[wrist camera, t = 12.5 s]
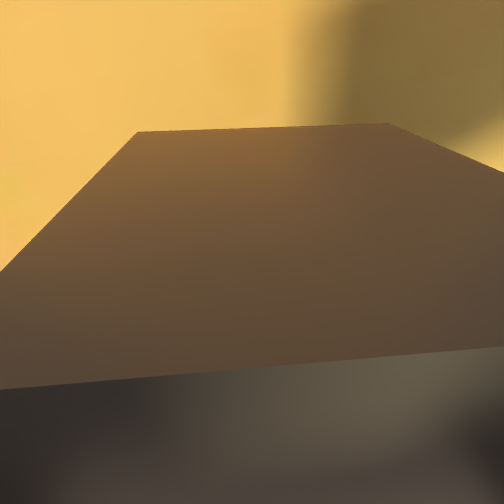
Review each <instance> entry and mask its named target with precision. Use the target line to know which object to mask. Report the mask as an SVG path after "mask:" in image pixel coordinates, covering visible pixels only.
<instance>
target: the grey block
mask: <svg viewBox="0 0 504 504" xmlns="http://www.w3.org/2000/svg"><path fill="white" fill-rule="evenodd" d="M0 504H504V173H503V172H501V171H499V170H496V169H494V168H492V167H489V166H487V165H485V164H482V163H480V162H477V161H475V160H473V159H470V158H468V157H466V156H463V155H461V154H459V153H456V152H454V151H452V150H449V149H447V148H444V147H442V146H440V145H437V144H435V143H433V142H430V141H428V140H426V139H423V138H421V137H419V136H416V135H414V134H411V133H409V132H407V131H404V130H402V129H400V128H397V127H395V126H393V125H390V124H388V123H387V124H358V125H328V126H299V127H269V128H240V129H210V130H180V131H151V132H137V133H136V134H135V135H134V136H133V137H132V138H131V139H130V140H129V141H128V142H127V143H126V144H125V145H124V146H123V147H122V148H121V149H120V150H119V151H118V152H117V153H116V154H115V155H114V156H113V157H112V158H111V159H110V160H109V161H108V162H107V163H106V164H105V166H104V167H103V168H102V169H101V170H100V171H99V172H98V173H97V174H96V175H95V176H94V177H93V178H92V179H91V180H90V181H89V182H88V183H87V184H86V185H85V186H84V187H83V188H82V189H81V190H80V191H79V192H78V193H77V194H76V195H75V196H74V197H73V198H72V199H71V200H70V201H69V202H68V203H67V204H66V205H65V206H64V207H63V208H62V209H61V210H60V211H59V213H58V214H57V215H56V216H55V217H54V218H53V219H52V220H51V221H50V222H49V223H48V224H47V225H46V226H45V227H44V228H43V229H42V230H41V231H40V232H39V233H38V234H37V235H36V236H35V237H34V238H33V239H32V240H31V241H30V242H29V243H28V244H27V245H26V246H25V247H24V248H23V249H22V250H21V251H20V252H19V253H18V254H17V255H16V256H15V257H14V258H13V260H12V261H11V262H10V263H9V264H8V265H7V266H6V267H5V268H4V269H3V270H2V271H1V272H0Z"/></svg>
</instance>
